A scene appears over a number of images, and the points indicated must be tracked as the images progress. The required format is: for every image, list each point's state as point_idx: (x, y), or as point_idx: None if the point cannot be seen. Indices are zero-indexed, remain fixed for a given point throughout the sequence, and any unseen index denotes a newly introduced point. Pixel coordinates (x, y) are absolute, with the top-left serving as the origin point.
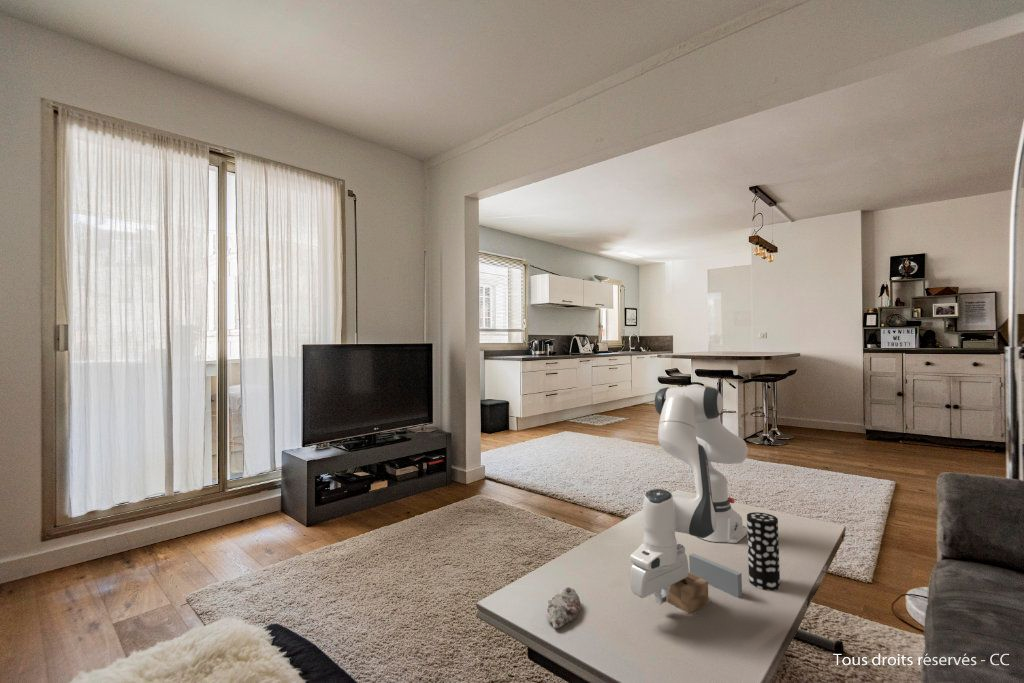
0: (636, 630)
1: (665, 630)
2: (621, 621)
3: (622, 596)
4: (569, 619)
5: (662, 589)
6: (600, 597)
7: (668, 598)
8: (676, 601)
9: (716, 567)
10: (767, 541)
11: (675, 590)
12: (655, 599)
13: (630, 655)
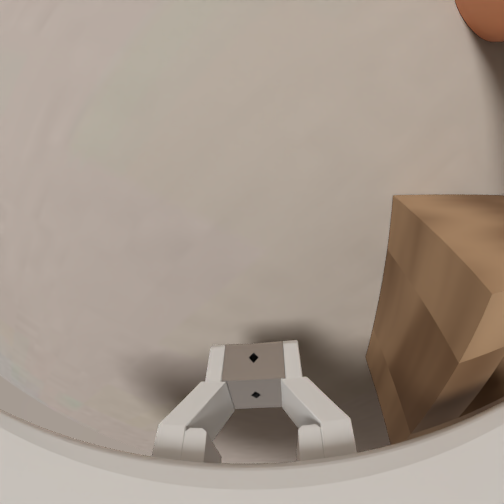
0: (58, 326)
1: (169, 380)
2: (19, 254)
3: (143, 14)
4: None
5: (303, 408)
6: (26, 5)
7: (398, 266)
8: (388, 325)
9: None
10: None
11: (413, 378)
12: (209, 358)
13: (25, 370)
